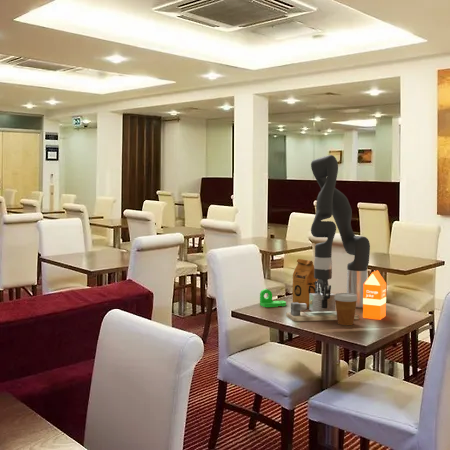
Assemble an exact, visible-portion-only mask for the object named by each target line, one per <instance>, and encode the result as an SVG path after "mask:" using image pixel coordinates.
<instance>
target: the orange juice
mask: <svg viewBox="0 0 450 450" xmlns="http://www.w3.org/2000/svg"><path fill="white" fill-rule="evenodd" d="M386 311H387V282H386V281H385V279H384V278H383V276H382V275H381V273H380V271H379V270H375V271H372V272H371V274H370V275H369V277H367V280H366V282H365V283H364V284H363V307H362V318H363V319H371V320H380V321H381V320H382V319H384V318H385V317H386V316H387V315H386V313H387V312H386Z"/></svg>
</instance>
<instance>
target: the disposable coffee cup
mask: <svg viewBox="0 0 450 450" xmlns="http://www.w3.org/2000/svg"><path fill="white" fill-rule="evenodd" d="M334 294H335V297H334V298H335V311H337V320H336V321H337V324H338V325H339V326H340V325H341V326H353V325H354V322H355V319H354V316H355V314H356V309H357V307H356V302H357V299H358V298H357V295H356V294H352V293H347V292H340V293H339V292H337V293H334Z"/></svg>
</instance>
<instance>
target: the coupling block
mask: <svg viewBox="0 0 450 450" xmlns="http://www.w3.org/2000/svg"><path fill="white" fill-rule="evenodd" d="M335 294H336V293H333V292H330V299H327V308H322V295H321V294H320V293H309V307H308V308H309V309H308V310H310V312H321V311H336V302H335V298H334V297H335Z"/></svg>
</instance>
